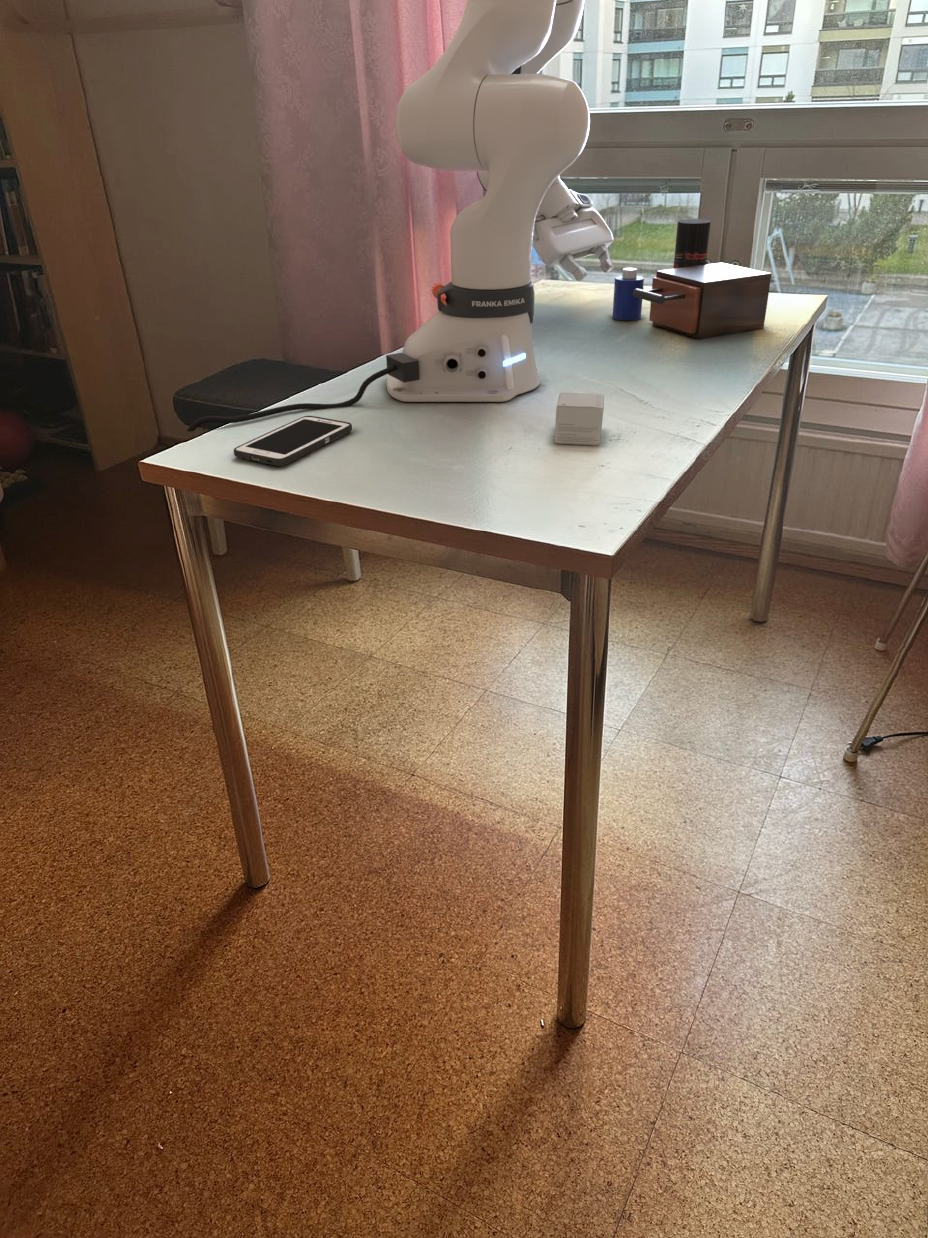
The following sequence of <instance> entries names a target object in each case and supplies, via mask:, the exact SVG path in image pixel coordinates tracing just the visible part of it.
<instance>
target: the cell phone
mask: <svg viewBox="0 0 928 1238" xmlns="http://www.w3.org/2000/svg"><path fill="white" fill-rule="evenodd" d="M352 430H353V425H352V423H351V422H348V421H343V420H338V419H331V418H326V417H322V416H316V415H304V416H301V417H299V418H296V419H294V420H293V421H290V422H288V423H286V424H284V425H281V426H279V427H276V428H274V429H273V430H270V431H268V432H266V433H264V434H262V435H259V436H257V437H254V438H253V439H251V440H248V441H246V442H244V443H241V444H240V445H238V446H236V447H234V448H233V456H235V457H236V458H239V459H243V460H249V461H254V462H258V463H262V464H266V465H271V466H278V467H282V466H285V465H287V464H290V463H291V462H293V461H295V460H297V459H299V458H301V457H303V456H305V455H308V454H309V453H311V452H313V451H315V450H317V449H320V447H323V446H325V445H327V444H329V443H330V442H332V441H334V440H336V439H339V438H340V437H342V436H344V435H346V434H349V433H350V432H351V431H352Z"/></svg>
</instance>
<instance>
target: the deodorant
mask: <svg viewBox="0 0 928 1238" xmlns="http://www.w3.org/2000/svg"><path fill="white" fill-rule="evenodd" d="M711 223H712V221H711V220H709V219H702V218H686V219H685V218H684V219H679V220H677V224H676V225H677V226H676V235H675V247H674V258H673V268H672V269H675V268H683V267H691V266H698V265H706V264H707V259H708V258H707V257H708V250H709V249H708V248H709V241H710V230H711Z"/></svg>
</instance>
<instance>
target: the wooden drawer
mask: <svg viewBox="0 0 928 1238" xmlns="http://www.w3.org/2000/svg"><path fill="white" fill-rule="evenodd" d="M651 282H652V283H651V289H643V290H641V289H635V290H634V292H633V296H634V297H637V298H640V299H642V300H644V301H648V302H650V306H649V307H650V308H649V320H648V321H649V322H651V323H652V322H656V323H659V324H662V325H665V326H668V327H671V328H675V329H678V330H681V331H684V332H687V333H690V334H692V333H696V332H697V323H698V313H699V304H700V295H701V287H700V286H696V285H692V284H688V283H684V282H680V281H676V280H672V279H668V278H667V279H665V278H661V277H656V276H655V277H654V276H653V277H652V281H651Z"/></svg>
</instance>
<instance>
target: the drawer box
mask: <svg viewBox="0 0 928 1238" xmlns="http://www.w3.org/2000/svg"><path fill="white" fill-rule="evenodd" d="M655 277H661V278H665V279H667V278H668V279H672V280H676V281H680V282H684V283H688V284H692V285H696V286H700V287H701V295H700V304H699V313H698V323H697V332H696V333H692V334H690V333H687V332H684V331H681V330H678V329H675V328H671V327H668V326H665V325H662V324H659V323H656V322H652V321H651V323H652V325H654V326H657V327H659V328H663V329H666V330H669V331H672V332H675V333H679V334H682V335H684V336H687V337H691V338H695V339H697V340H700V339H706V338H712V337H717V336H724V335H730V334H736V333H741V332H747V331H753V330H760V329H764V328H765V321H766V314H767V308H768V302H769V295H770V289H771V288H770V287H771V281H772V280H771V279H772V273H771V272H768V271H764V270H763V271H762V270H759V269H754V268H749V267H744V266H739V265H735V264H730V263H725V262H715V263H706V265H698V266H691V267H683V268H675V269H673V268H668V269H660V270H656V276H655Z"/></svg>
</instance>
